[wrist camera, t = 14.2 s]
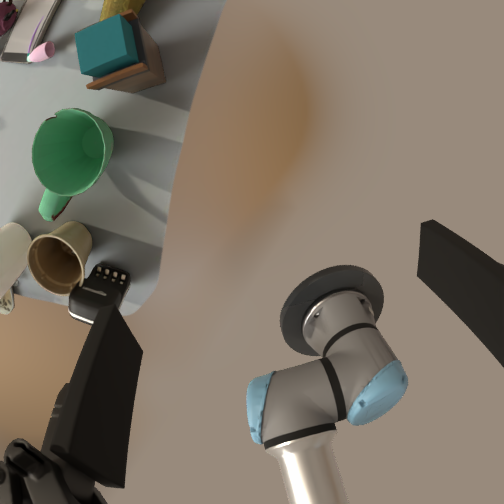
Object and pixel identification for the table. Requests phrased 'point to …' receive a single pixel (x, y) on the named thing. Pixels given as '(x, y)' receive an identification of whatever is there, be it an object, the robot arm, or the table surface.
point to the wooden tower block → (147, 78)
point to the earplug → (41, 50)
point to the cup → (12, 254)
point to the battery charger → (98, 292)
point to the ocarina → (119, 7)
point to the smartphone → (28, 29)
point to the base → (131, 69)
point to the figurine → (7, 16)
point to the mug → (69, 157)
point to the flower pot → (60, 258)
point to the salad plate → (8, 300)
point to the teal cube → (106, 47)
